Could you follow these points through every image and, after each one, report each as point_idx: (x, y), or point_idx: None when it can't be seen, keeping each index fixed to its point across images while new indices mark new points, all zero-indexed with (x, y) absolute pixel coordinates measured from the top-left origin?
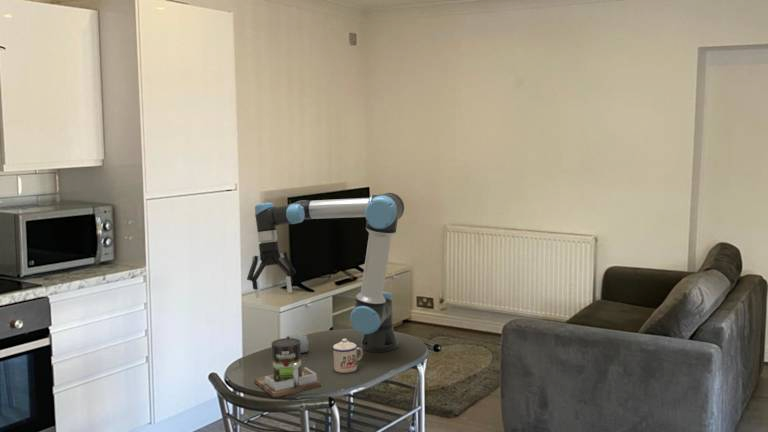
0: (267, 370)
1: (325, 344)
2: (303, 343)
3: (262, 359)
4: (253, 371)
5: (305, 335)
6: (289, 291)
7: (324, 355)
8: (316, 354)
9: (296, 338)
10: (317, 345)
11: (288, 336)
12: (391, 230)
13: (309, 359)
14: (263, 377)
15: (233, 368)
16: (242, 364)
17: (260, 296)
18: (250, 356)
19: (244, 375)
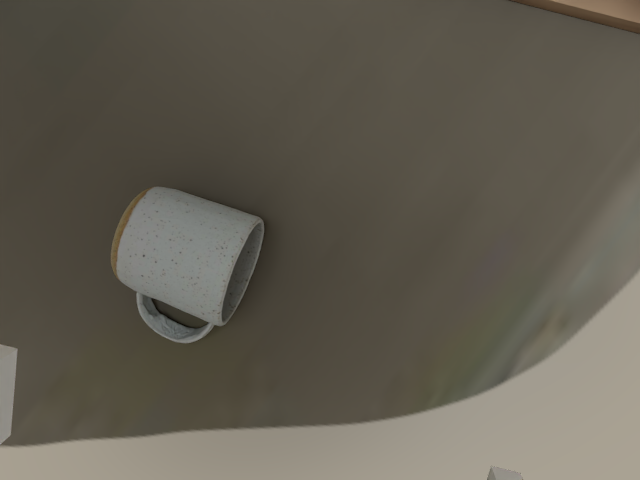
0: (494, 145)
1: (10, 245)
2: (183, 195)
3: (396, 317)
4: (551, 193)
5: (124, 230)
6: (2, 384)
7: (139, 96)
8: (156, 146)
9: (202, 229)
10: (50, 267)
11: (228, 279)
12: None
13: (235, 109)
14: (630, 8)
15: (588, 320)
16: (517, 336)
17: (496, 474)
18: (405, 412)
19: (622, 178)
